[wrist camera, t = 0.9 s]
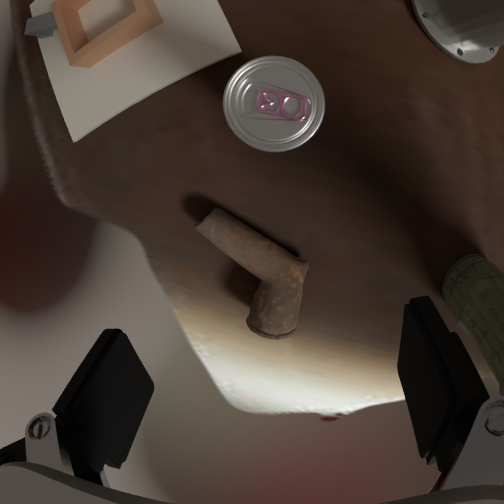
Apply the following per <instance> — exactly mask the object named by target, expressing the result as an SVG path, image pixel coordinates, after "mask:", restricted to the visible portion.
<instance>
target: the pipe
mask: <svg viewBox="0 0 504 504" xmlns="http://www.w3.org/2000/svg"><path fill="white" fill-rule="evenodd" d="M194 227H195V229H196V230H197V231H198V232H200V233H201V234H202V235H203V236H204V237H206V238H207V239H208V240H209V241H210V242H211V243H213V244H214V245H215V246H216V247H217V248H219V249H220V250H221V251H223V252H224V253H225V254H227V255H228V256H229V257H231V258H232V259H233V260H234V261H236V262H237V263H238V264H240V265H241V266H242V267H244V268H245V269H247V270H248V271H249V272H251V273H252V274H254V275H255V276H256V277H258V278H259V279H260V280H261V283H260V285H259V286H258V288H257V290H256V292H255V294H254V297H253V300H252V303H251V307H250V313H249V316H248V317H247V319H246V323H247V325H248V327H249V328H250V330H251V331H253V332H254V333H256V334H257V335H259V336H262V337H264V338H268V339H274V340H278V339H284V338H288V337H290V336H291V335H292V334H294V331H295V330H296V323H297V319H298V314H299V310H300V306H301V300H302V293H303V284H304V280H305V276H306V273H307V270H308V267H309V265H308V263H307V261H306V260H303V259H300V258H298V257H296V256H294V255H292V254H290V253H289V252H288V251H286V250H285V249H283V248H282V247H280V246H279V245H277V244H276V243H274V242H273V241H271V240H269V239H268V238H266V237H264V236H262V235H261V234H259V233H258V232H256V231H254V230H253V229H251V228H250V227H248V226H247V225H245V224H244V223H242V222H241V221H239V220H237V219H236V218H234V217H233V216H231V215H230V214H228V213H226V212H225V211H223V210H221V209H220V208H215V209H214V210H213V211H212V212H210V213H209V214H208V215H207V216H206V217H205V218H204V219H203V221H201V222H198V223H196V224H195V225H194Z"/></svg>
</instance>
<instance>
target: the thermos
mask: <svg viewBox="0 0 504 504" xmlns="http://www.w3.org/2000/svg"><path fill="white" fill-rule="evenodd" d="M442 296H443V299H444V300H445V302H446V304H447V305H448V306H449V310H450V311H451V313H452V314H453V316H454V318H455V319H456V321H457V322H458V324H459V325H460V327H461V328H462V329H463V330H464V331H465V332H466V333H467V334H468V335H469V336H471V337H472V338H473V340H474V341H475V343H476V345H477V346H478V348H479V349H480V351H481V353H482V354H483V356H484V358H485V360H486V361H487V363H488V365H489V366H490V368H491V370H492V372H493V374H494V375H495V377H496V379H497V381H498V383H499V389H500V390H499V392H500V395H501V396H504V274H503V273H502V272H501V271H500V270H499V269H498V268H497V267H496V266H495V265H494V264H493V263H491V262H489V261H488V260H487V259H486V258H485V257H484V256H482V255H481V254H476V253H473V254H467V255H465V256H464V257H462V258H460V259H459V260H457V261H456V262H455V263H454V264H453V265H452V266H451V268H450V269H449V270H448V272H447V273H446V276H445V278H444V280H443V284H442Z"/></svg>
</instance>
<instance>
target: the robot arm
mask: <svg viewBox="0 0 504 504" xmlns="http://www.w3.org/2000/svg"><path fill="white" fill-rule="evenodd" d="M411 2H412V6H413V10H414V13H415V15H416V17H417V20H418V22H419V23H420V25H421V27H422V28H423V30H424V31H425V33H426V34H427V35H428V37H429V38H430V39H431V40H432V41H433V42H434V43H435V44H436V45H437V46H438V47H439V48H440V49H441V50H443V51H444V52H445V53H447V54H448V55H450V56H451V57H453V58H455V59H457V60H460V61H462V62H466V63H483V62H486V61H488V60H490V59H492V58H493V57H494V56H495V54H496V53H497V51H498V49H499V46H504V0H411ZM397 369H398V375H399V378H400V381H401V385H402V388H403V392H404V395H405V399H406V402H407V406H408V410H409V413H410V416H411V421H412V425H413V429H414V433H415V437H416V441H417V445H418V450H419V454H420V457H421V458H426V461H427V465H430V464H433V463H437V466H438V470H439V471H440V472H441V473H440V475H439V476H438V478H437V480H436V482H435V483H434V485H433V487H432V488H431V490H430V492H429V493H428V494H424V495H419V496H414V497H409V498H404V499H400V500H395V501H390V502H385V503H379V504H504V396H495V397H492V398H490V396H489V394H488V392H487V390H486V388H485V386H484V384H483V382H482V380H481V377H480V375H479V373H478V371H477V369H476V367H475V365H474V364H473V362H472V360H471V358H470V356H469V354H468V352H467V350H466V348H465V347H464V345H463V343H462V341H461V339H460V337H459V336H458V335H457V333H455V332H451V333H450V332H449V330H448V328H447V326H446V324H445V323H444V321H443V319H442V317H441V316H440V314H439V312H438V310H437V309H436V307H435V305H434V304H433V302H432V300H431V299H430V297H429V296H422V297H416V298H411V299H410V302H409V304H406V305H405V306H404V316H403V325H402V334H401V342H400V350H399V357H398V364H397ZM153 392H154V383H153V381H152V380H151V378H150V376H149V374H148V372H147V371H146V369H145V367H144V366H143V364H142V362H141V360H140V359H139V357H138V355H137V353H136V352H135V350H134V348H133V346H132V344H131V342H130V341H129V339H128V337H127V335H126V334H125V333H123V332H122V330H120V329H105V330H104V331H103V332H102V334H101V335H100V336H99V338H98V339H97V341H96V342H95V344H94V345H93V347H92V348H91V349H90V351H89V352H88V354H87V355H86V357H85V359H84V360H83V362H82V363H81V365H80V366H79V367H78V369H77V371H76V372H75V374H74V375H73V377H72V378H71V380H70V382H69V383H68V385H67V386H66V388H65V389H64V391H63V393H62V394H61V396H60V397H59V399H58V401H57V402H56V404H55V406H54V407H53V409H52V411H53V412H54V413H55V414H56V415H57V416H56V418H54V417H53V416H52V415H51V414H49V413H41V414H38V415H36V416H34V417H33V418H32V419H31V420H30V421H29V423H28V424H27V427H26V430H25V437H24V438H22V439H21V440H18V441H16V442H14V443H12V444H10V445H8V446H5V447H3V448H2V449H0V504H174V503H169V502H163V501H158V500H154V499H149V498H144V497H141V496H137V495H132V494H129V493H125V492H121V491H118V490H114V489H111V487H110V485H109V482H108V479H107V476H106V474H105V471H104V468H103V467H104V464H107V465H108V466H110V467H114V468H118V469H120V467H121V464H122V463H123V462H125V460H126V458H127V456H128V453H129V451H130V448H131V446H132V443H133V441H134V438H135V436H136V433H137V431H138V428H139V426H140V423H141V421H142V418H143V416H144V414H145V411H146V409H147V406H148V404H149V401H150V399H151V397H152V394H153Z"/></svg>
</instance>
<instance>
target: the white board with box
mask: <svg viewBox="0 0 504 504" xmlns="http://www.w3.org/2000/svg"><path fill="white" fill-rule="evenodd" d="M30 9H31V14H32V18H29V19H27V23H26V28H25V33H24V35H30V36H37V38H38V41H39V45H40V48H41V52H42V55H43V59H44V62H45V65H46V68H47V72H48V75H49V78H50V81H51V84H52V87H53V90H54V93H55V95H56V98H57V101H58V104H59V106H60V109H61V112H62V115H63V117H64V120H65V122H66V125H67V127H68V130H69V132H70V135H71V137H72V140H73V142H76V141H78V140H80V139H81V138H82V137H84V136H85V135H87V134H88V133H90V132H91V131H92V130H94V129H95V128H97V127H98V126H100V125H101V124H103V123H104V122H106V121H108V120H109V119H111V118H112V117H114V116H115V115H117V114H119V113H120V112H122V111H123V110H125V109H127V108H128V107H130V106H132V105H133V104H135V103H137V102H139V101H140V100H142V99H144V98H146V97H147V96H149V95H151V94H153V93H155V92H157V91H158V90H160V89H162V88H164V87H166V86H168V85H170V84H172V83H174V82H176V81H178V80H180V79H182V78H184V77H186V76H188V75H190V74H192V73H194V72H196V71H198V70H201V69H203V68H205V67H207V66H210V65H212V64H214V63H216V62H219V61H221V60H223V59H226V58H228V57H231V56H233V55H236V54H238V53H241V52H242V51H241V49H240V46H239V44H238V42H237V40H236V38H235V36H234V34H233V32H232V29H231V27H230V25H229V23H228V21H227V19H226V17H225V15H224V13H223V11H222V9H221V7H220V5H219V3H218V1H217V0H35V1H34V2H33V3H32V4H30Z"/></svg>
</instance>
